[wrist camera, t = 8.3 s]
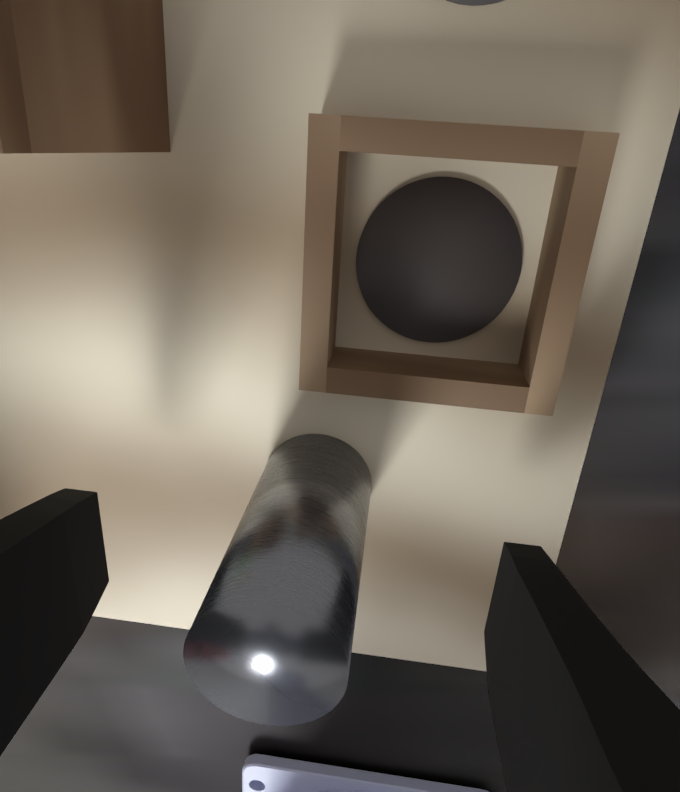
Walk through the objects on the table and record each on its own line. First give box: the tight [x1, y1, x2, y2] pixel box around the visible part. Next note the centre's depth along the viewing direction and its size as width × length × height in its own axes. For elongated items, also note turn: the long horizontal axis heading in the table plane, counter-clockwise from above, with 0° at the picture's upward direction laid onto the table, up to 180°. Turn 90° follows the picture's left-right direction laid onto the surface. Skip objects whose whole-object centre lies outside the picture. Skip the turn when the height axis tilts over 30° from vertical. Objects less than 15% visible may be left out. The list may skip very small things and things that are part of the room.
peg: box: [183, 434, 372, 726], centre depth 10 cm, size 2×2×5 cm
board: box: [0, 0, 680, 671], centre depth 10 cm, size 19×14×4 cm
